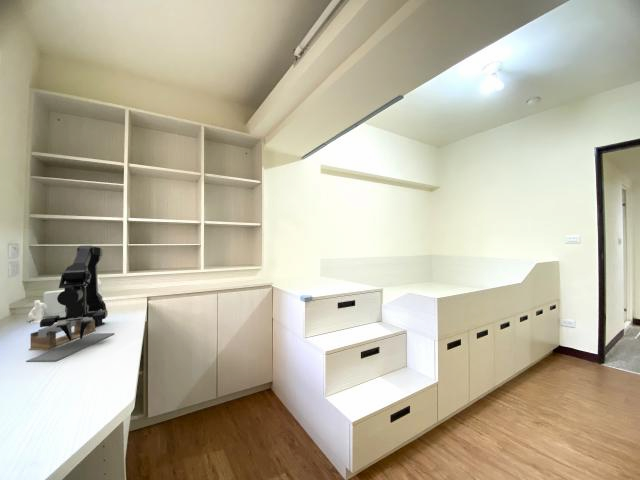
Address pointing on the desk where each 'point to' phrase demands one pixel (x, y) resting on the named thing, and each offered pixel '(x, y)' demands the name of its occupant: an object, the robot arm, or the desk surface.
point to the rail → (55, 328)
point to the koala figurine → (37, 311)
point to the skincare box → (53, 304)
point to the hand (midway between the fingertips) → (76, 339)
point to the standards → (54, 342)
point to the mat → (70, 348)
